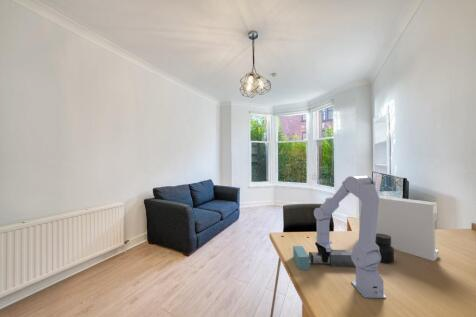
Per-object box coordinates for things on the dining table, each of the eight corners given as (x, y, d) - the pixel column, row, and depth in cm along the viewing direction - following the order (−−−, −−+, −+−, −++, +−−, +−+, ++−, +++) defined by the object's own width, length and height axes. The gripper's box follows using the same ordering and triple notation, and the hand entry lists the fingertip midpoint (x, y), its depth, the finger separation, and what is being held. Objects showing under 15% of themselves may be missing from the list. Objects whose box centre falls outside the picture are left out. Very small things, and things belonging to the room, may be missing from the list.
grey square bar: (349, 263, 95) (349, 256, 95) (311, 263, 96) (311, 255, 96) (345, 260, 98) (345, 252, 98) (308, 259, 99) (308, 252, 99)
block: (359, 238, 128) (358, 195, 128) (365, 235, 132) (364, 193, 133) (433, 261, 98) (432, 204, 99) (438, 256, 103) (437, 202, 103)
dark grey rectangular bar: (361, 267, 93) (361, 255, 93) (331, 266, 94) (330, 254, 94) (355, 261, 99) (354, 249, 99) (326, 260, 100) (326, 249, 100)
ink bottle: (381, 254, 106) (381, 231, 106) (399, 262, 98) (398, 237, 98) (367, 257, 103) (367, 234, 103) (385, 265, 95) (384, 240, 95)
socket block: (309, 269, 91) (309, 257, 92) (299, 269, 92) (298, 256, 92) (302, 257, 103) (302, 246, 104) (293, 257, 104) (293, 246, 104)
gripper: (337, 238, 90) (338, 268, 90) (325, 227, 104) (326, 253, 104) (322, 237, 90) (322, 267, 90) (311, 227, 105) (312, 253, 104)
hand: (323, 260), depth 97 cm, fingers closed on grey square bar, 4 cm apart
